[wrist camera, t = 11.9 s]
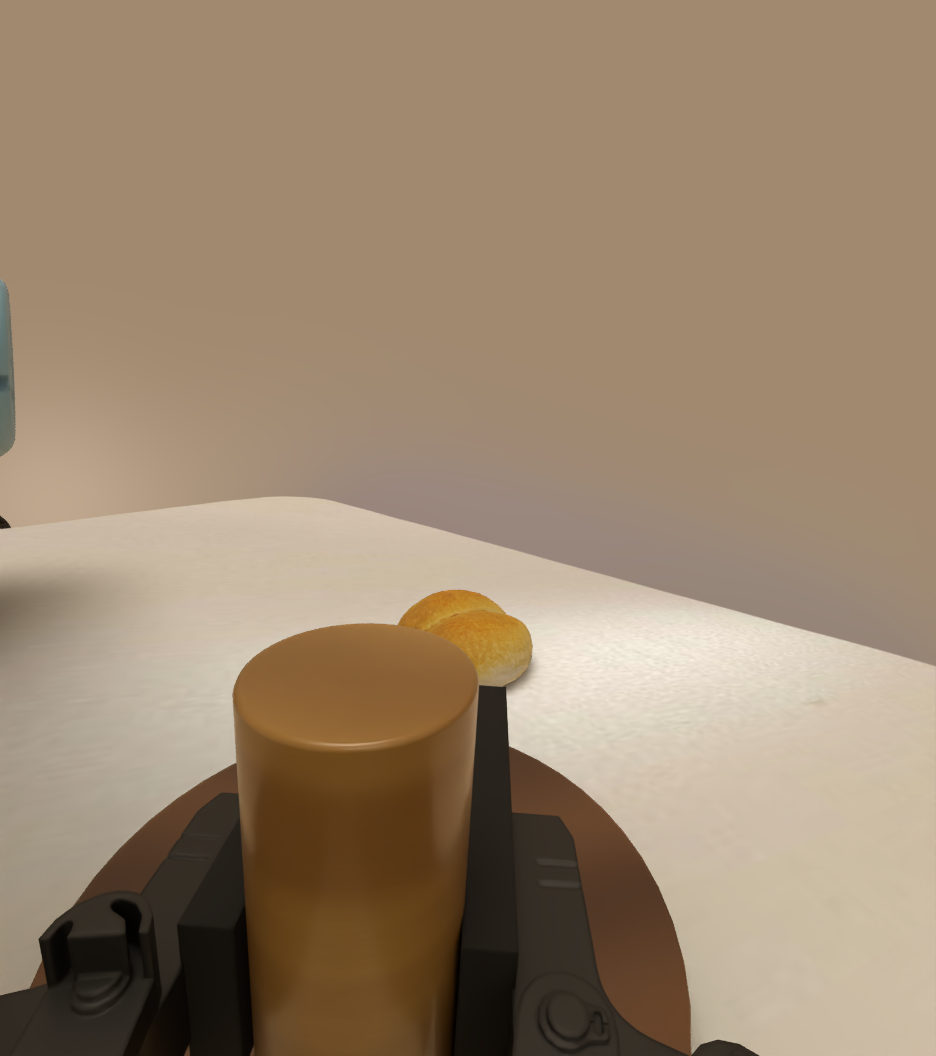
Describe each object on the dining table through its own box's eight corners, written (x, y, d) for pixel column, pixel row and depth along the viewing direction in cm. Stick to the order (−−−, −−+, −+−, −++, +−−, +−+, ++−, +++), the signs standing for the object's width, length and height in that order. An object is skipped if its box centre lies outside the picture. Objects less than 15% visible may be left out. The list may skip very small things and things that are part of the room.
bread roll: (437, 710, 30) (440, 642, 29) (383, 640, 37) (383, 585, 36) (560, 680, 33) (567, 619, 32) (488, 622, 41) (491, 571, 40)
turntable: (191, 750, 24) (168, 468, 20) (576, 744, 25) (607, 484, 22) (-318, 1588, 7) (-817, 805, 4) (874, 1407, 9) (1145, 765, 6)
